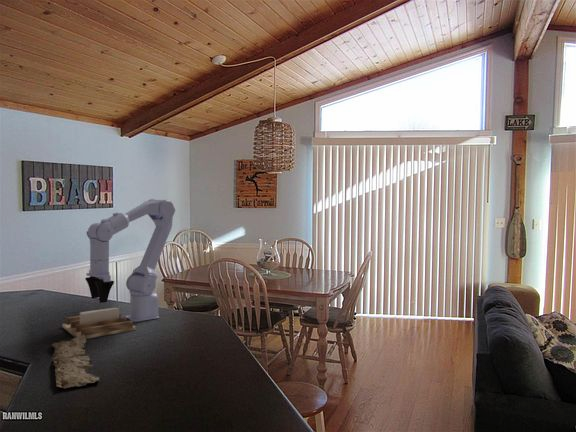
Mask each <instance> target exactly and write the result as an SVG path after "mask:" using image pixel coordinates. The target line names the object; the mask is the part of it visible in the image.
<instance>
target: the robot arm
mask: <svg viewBox="0 0 576 432" xmlns="http://www.w3.org/2000/svg"><path fill="white" fill-rule="evenodd" d="M175 212H176V208H175V206H174V203H173V201H172V200H170V199H154V198H150V199H148V200H145V201H143V202H142V203H141V204H140V205H137V206H136V207H134V208H132V209H131V210H128V211H127V212H126V213H123V212H114V213H112V216H110V217H108V218H102V219H101V220H100V222H99V223H98V222H94V223H92V224H90V225H89V227H88V229H87V231H86V236H87V238H88V239H89V244H90V246H89V247H90V248H89V251H90V252H89V253H90V254H89V261H90V262H89V270H88V272H86V276H87V277H85V278H84V279H85V282H86V284H87V285H88V288H89V291H90V292H89V293H90V297H91V299H98V301H99V303H100V304H102V303H104V304H105V303H107V302H108V299H109V295H110V291H111V289H112V287H113V285H114V283H115V281H114V280H111V279H112V278H111V276H112V275H110V272H109V271H110V269H109V267H110V240H111V239H112V238H113V236H114V235H116V234H117V233H119V232H121V231H123V230H125V229H126V228H128V227H129V224H130V222H133V221H135V220H137V219H140V218H142V217H144V216H146V215H148V216H149V218H150V220H152V222H153V223H154V225H155V228H154V230H153V233H152V235H151V238H150V239H149V242H148V245H147V247H146V249H145V252H144V255H143V256H142V259H141V262H140V264H139V265H138V266H137V267H135V268H134V269H133V271H132V273H131V274H130V275H128V277H127V279H126V283H125V285H126V288H127V289H128V291H129V294H130V295H129V298H130V299H129V304H130V305H129V315H125V317H126V318H127V320H129V321H133V323H137V322H142V321H149V320H155V319H159V318H160V316H159V305H160V304H159V303H160V301H159V297H158V293H156V292H154V291H155V289H156V286H157V282H156V281H157V278H158V275H157V273H156V268H157V266H158V262H159V260H160V258H161V255H162V253H163V250H164V247H165V245H166V243H167V240H168V237H169V234H170V232H171V231H172V227H173V220H174V219H173V217H174V215H175Z"/></svg>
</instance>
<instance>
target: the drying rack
mask: <svg viewBox="0 0 576 432" xmlns="http://www.w3.org/2000/svg"><path fill="white" fill-rule="evenodd" d="M61 325H62V328H63V329H64V330H65V331H67V332H68V333H69V334H70V335H71V336H73V337H74V338H77V337H80V336H81V335H85V337H86V340H87V339H92V338H98V337H104V336H110V335H116V334H121V333H122V334H123V333H127V332H132V331H136V330H137V326H135V325H134V322H133V321H132V320H128V318H126V316H125V317H122V315H121V314H120V313H119V318H117V319H110V320H104V321H97V322H91V323H84V324H80V315H77V316H69V317H65V323H62V324H61Z"/></svg>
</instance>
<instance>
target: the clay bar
mask: <svg viewBox="0 0 576 432" xmlns="http://www.w3.org/2000/svg"><path fill="white" fill-rule="evenodd" d="M119 314H120V308H119V307H109V308H101V309H95V310H87V311H82V312H81V311H80V312H79V316H80V324H84V323H91V322H97V321H104V320H110V319H117V318H119Z"/></svg>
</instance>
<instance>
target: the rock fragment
mask: <svg viewBox="0 0 576 432" xmlns="http://www.w3.org/2000/svg"><path fill="white" fill-rule="evenodd" d="M86 343H87V339H86V337H85V335H81V336H80V337H77V338H76V337H74V338H72V339H70V340H69V341H68V340H62V341H59V342H54V343H52V344H51V346H52V347H53V348H54V351H53V354H52V356H51V362H53V364H52V366H53V367H55V368H54V372H55V374H54V377H55V383H56V387H57V388H62V389H67V388H73V387H82V386H87V384H92V383H93V384H94V383H97V382H100V381H101V378H100V377H99V375H94V374H93V373H87V371H86V370H94V368H93V367H94V364H92V360H90V359H91V358H90V356H89V354H88V353H86V348H85V347H86V346H85V344H86Z"/></svg>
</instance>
